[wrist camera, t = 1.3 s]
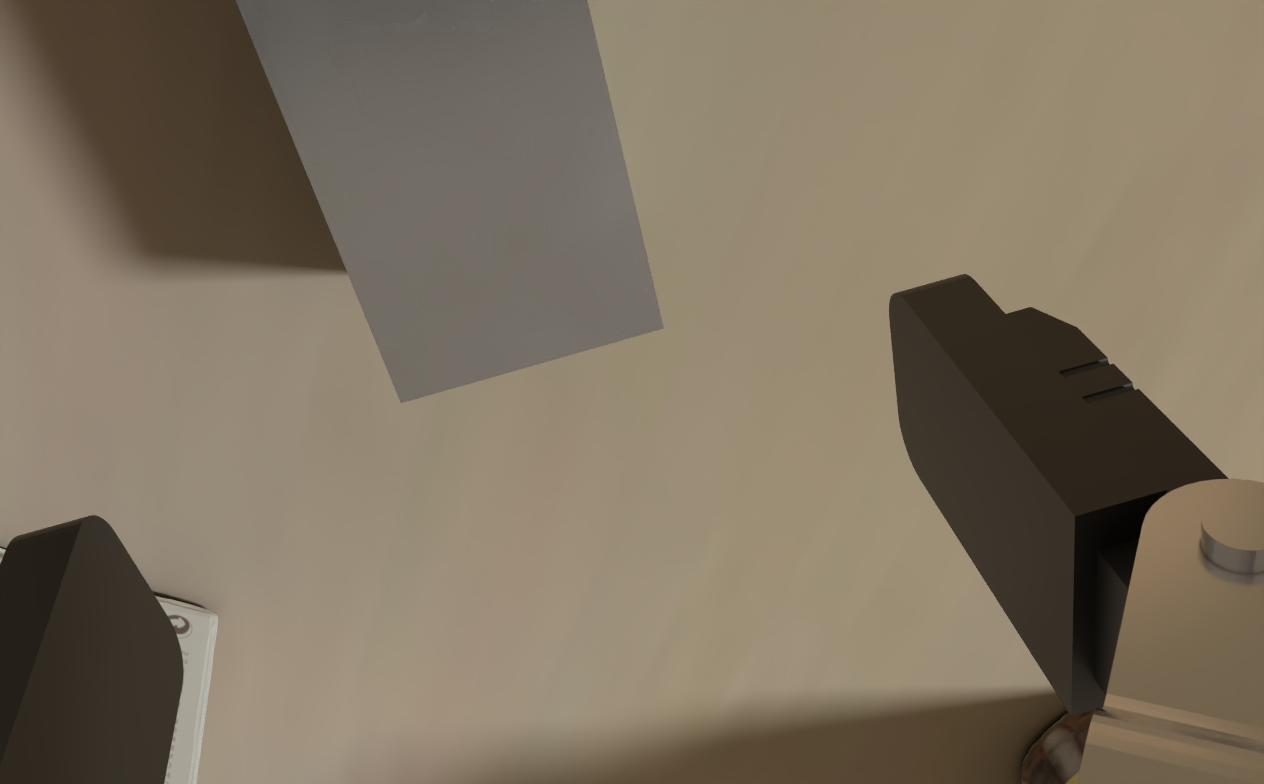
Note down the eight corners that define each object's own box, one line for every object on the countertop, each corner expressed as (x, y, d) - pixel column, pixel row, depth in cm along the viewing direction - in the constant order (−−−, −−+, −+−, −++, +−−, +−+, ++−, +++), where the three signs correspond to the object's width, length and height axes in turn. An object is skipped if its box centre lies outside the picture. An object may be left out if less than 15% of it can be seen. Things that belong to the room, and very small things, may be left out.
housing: (243, -127, 20) (210, -61, 16) (514, -200, 20) (551, -153, 16) (396, 271, 24) (401, 402, 20) (615, 209, 25) (663, 328, 20)
